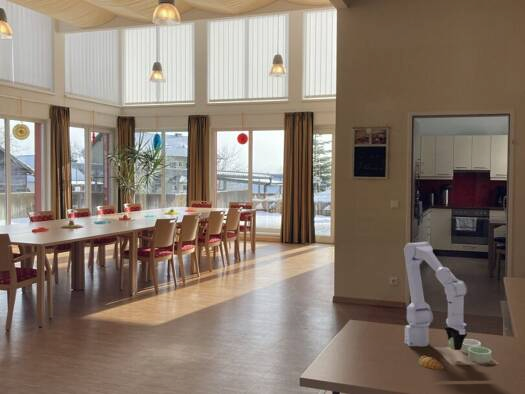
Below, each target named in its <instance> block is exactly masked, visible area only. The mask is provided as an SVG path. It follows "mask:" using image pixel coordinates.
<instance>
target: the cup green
mask: <svg viewBox="0 0 525 394" xmlns="http://www.w3.org/2000/svg"><path fill="white" fill-rule="evenodd" d="M491 358H492V350H491V349H489V348H487V347H485V346H484V347H483V346H481V347H469V348H468V359H469V360H471V361H474V362H479V363H488V362H491Z"/></svg>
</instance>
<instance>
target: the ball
mask: <svg viewBox="0 0 525 394" xmlns="http://www.w3.org/2000/svg"><path fill="white" fill-rule="evenodd" d="M448 347H450V348H451V349H453V350H455V348H454V340H453V337H452V338H450V339H449V340H448Z"/></svg>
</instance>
